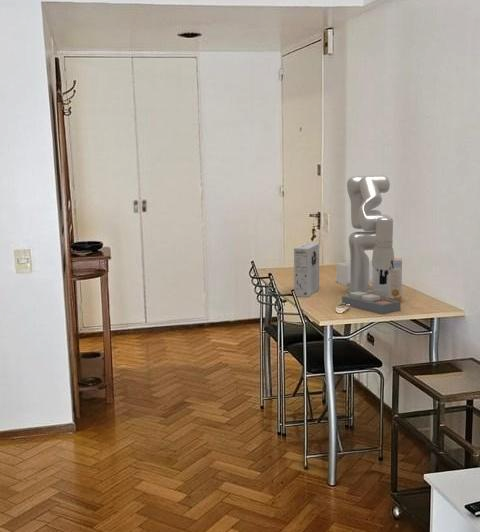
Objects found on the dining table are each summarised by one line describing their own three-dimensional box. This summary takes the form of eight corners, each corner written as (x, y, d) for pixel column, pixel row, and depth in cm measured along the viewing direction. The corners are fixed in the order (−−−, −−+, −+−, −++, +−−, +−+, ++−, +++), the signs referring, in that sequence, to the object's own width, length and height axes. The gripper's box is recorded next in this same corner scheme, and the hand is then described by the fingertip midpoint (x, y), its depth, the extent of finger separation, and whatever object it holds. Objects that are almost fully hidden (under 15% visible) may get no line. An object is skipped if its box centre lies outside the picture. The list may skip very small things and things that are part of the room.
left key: (349, 298, 332) (349, 293, 332) (358, 296, 336) (358, 291, 335) (358, 300, 327) (358, 295, 327) (367, 298, 331) (367, 293, 330)
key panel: (342, 304, 333) (342, 296, 332) (360, 301, 339) (360, 293, 339) (381, 314, 311) (381, 305, 311) (400, 310, 318) (400, 301, 318)
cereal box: (305, 288, 373) (305, 242, 369) (319, 289, 370) (319, 242, 366) (294, 296, 353) (293, 247, 349) (308, 297, 350) (308, 248, 346)
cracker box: (401, 300, 340) (402, 257, 336) (401, 302, 334) (402, 259, 330) (372, 299, 343) (372, 257, 339) (371, 301, 337) (372, 259, 334)
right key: (373, 307, 319) (373, 302, 319) (383, 305, 323) (383, 300, 322) (383, 309, 315) (383, 304, 314) (392, 308, 318) (392, 302, 318)
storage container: (375, 279, 397) (375, 260, 395) (385, 282, 387) (386, 262, 385) (336, 282, 388) (336, 263, 386) (346, 286, 378) (346, 266, 376)
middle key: (361, 300, 326) (361, 295, 325) (370, 299, 329) (370, 294, 329) (370, 303, 321) (370, 297, 320) (379, 301, 324) (380, 296, 324)
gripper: (366, 243, 318) (365, 282, 322) (390, 247, 306) (389, 288, 310) (377, 241, 322) (377, 280, 326) (402, 245, 310) (401, 285, 314)
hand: (383, 283), depth 318 cm, fingers closed
